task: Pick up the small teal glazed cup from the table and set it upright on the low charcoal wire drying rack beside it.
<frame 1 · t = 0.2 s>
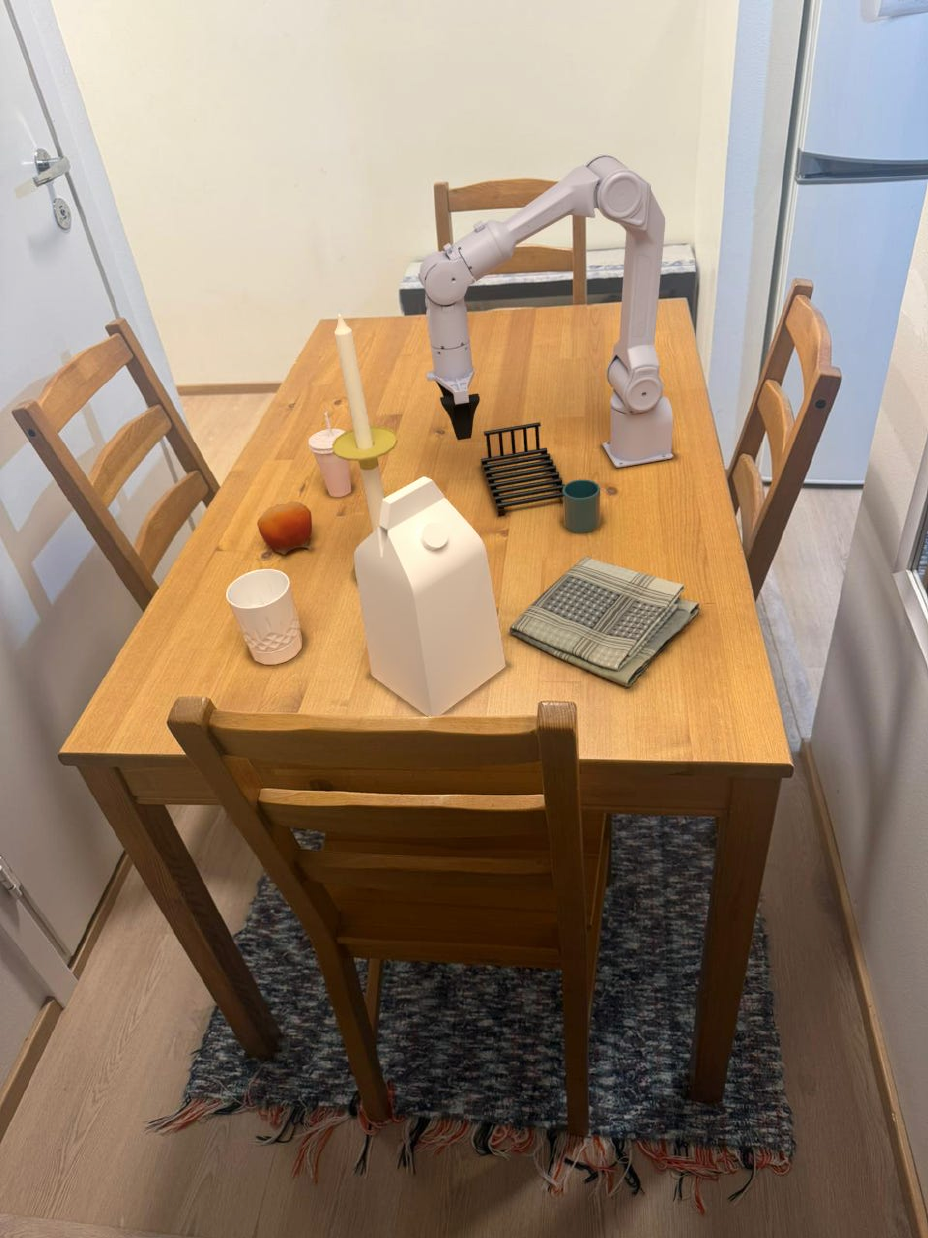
hand: (460, 426, 135), 10 cm above the table, tool pointing down, fingers open, 7 cm apart
milk: (438, 672, 108), on the table
rack: (523, 485, 139), on the table
white cup: (277, 649, 115), on the table
candle: (389, 570, 125), on the table
cup: (581, 522, 129), on the table
smoothie: (340, 492, 144), on the table
fruit: (292, 544, 133), on the table
dish towel: (605, 625, 111), on the table
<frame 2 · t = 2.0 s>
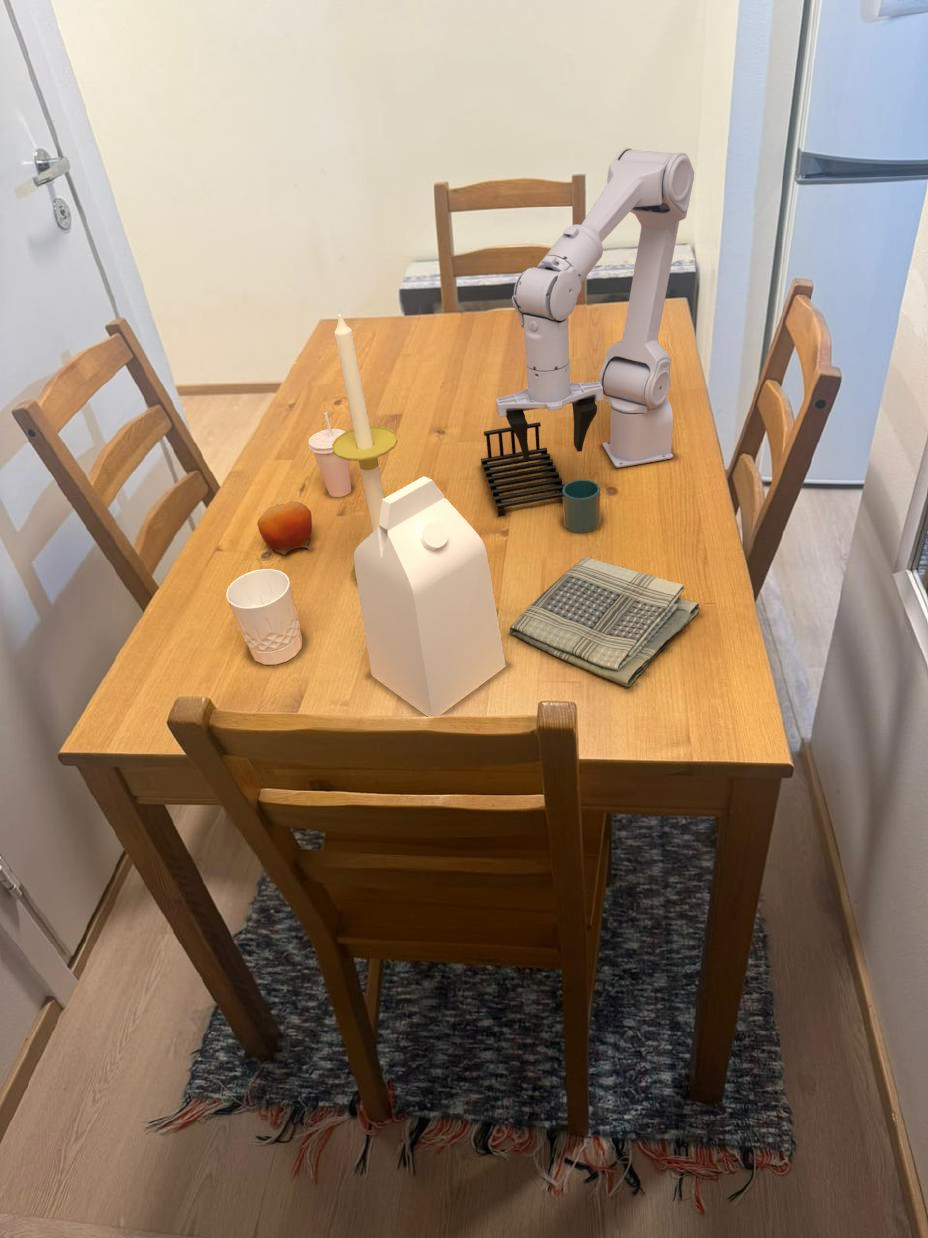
hand: (551, 452, 125), 10 cm above the table, tool pointing down, fingers open, 7 cm apart
nothing on the table moved.
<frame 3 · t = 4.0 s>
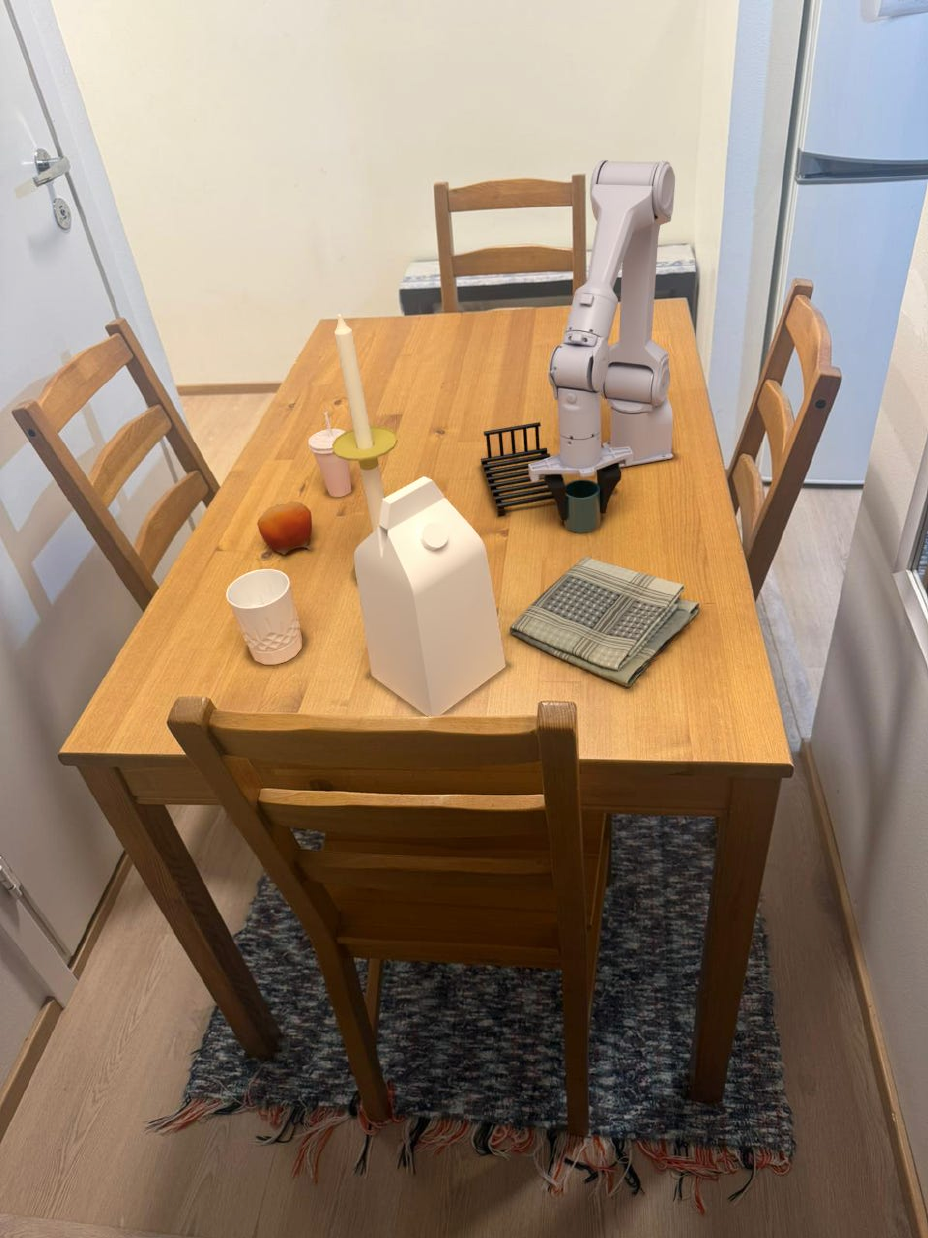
hand: (581, 513, 128), 2 cm above the table, tool pointing down, fingers closed on cup, 5 cm apart
cup: (582, 522, 129), on the table, touching gripper
everything else where it was.
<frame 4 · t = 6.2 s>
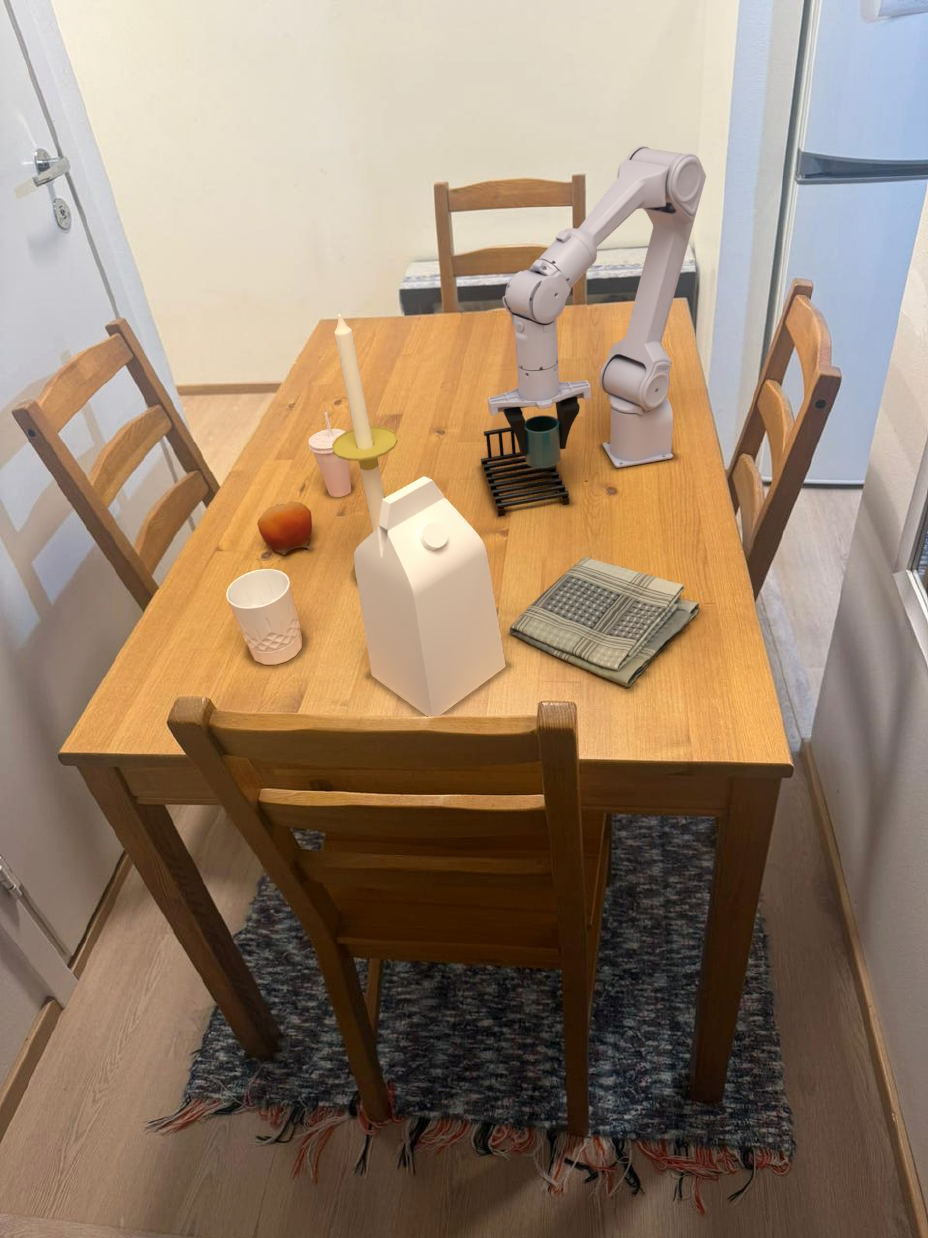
hand: (542, 449, 130), 9 cm above the table, tool pointing down, fingers closed on cup, 5 cm apart
cup: (543, 459, 131), point 7 cm above the table, touching gripper
everything else where it was.
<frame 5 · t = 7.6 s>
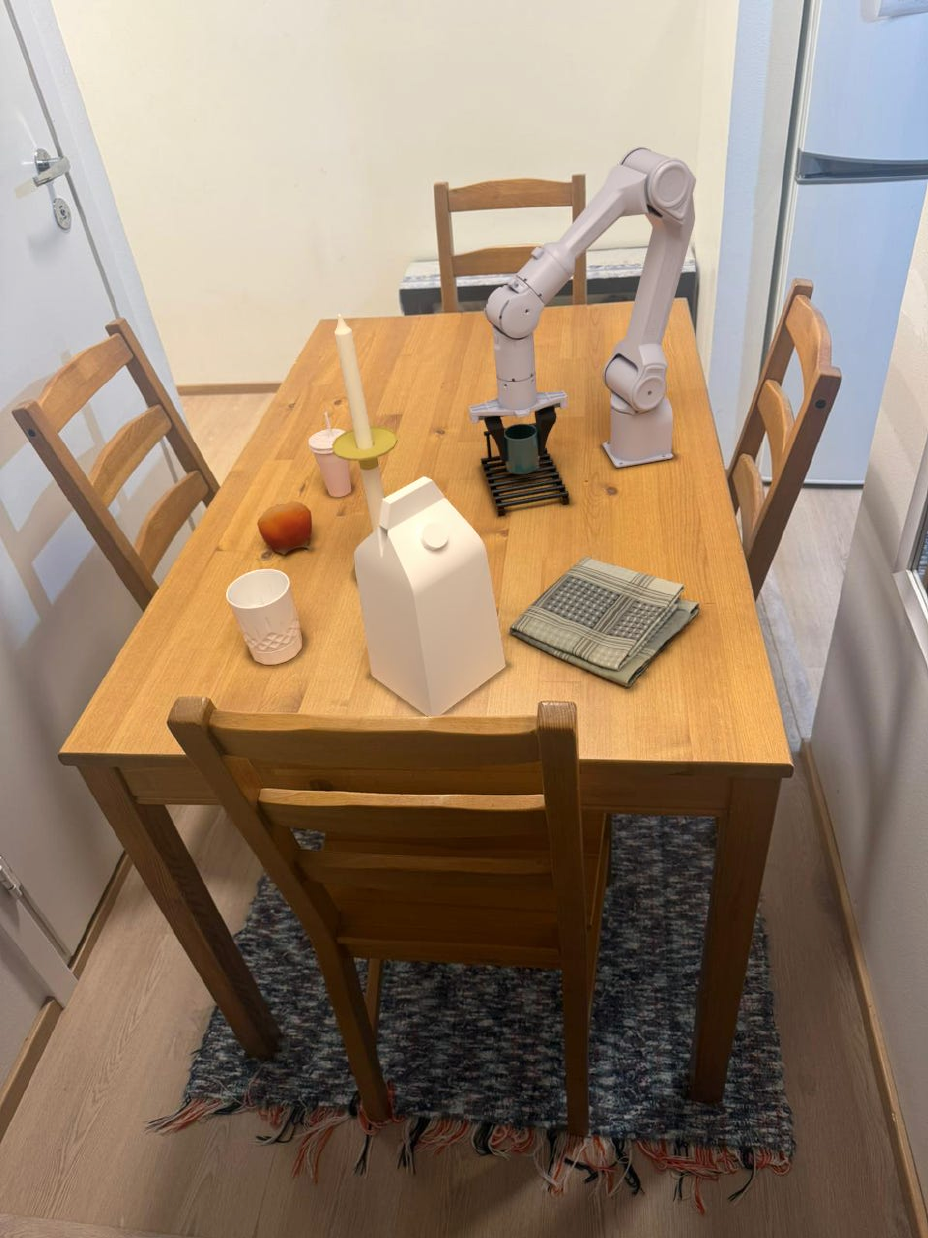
hand: (521, 456, 136), 5 cm above the table, tool pointing down, fingers closed on cup, 5 cm apart
cup: (522, 465, 137), point 4 cm above the table, touching gripper
everything else where it was.
when the fingers open (4 cm above the table, at t = 8.7 s): cup stays where it is, resting on rack.
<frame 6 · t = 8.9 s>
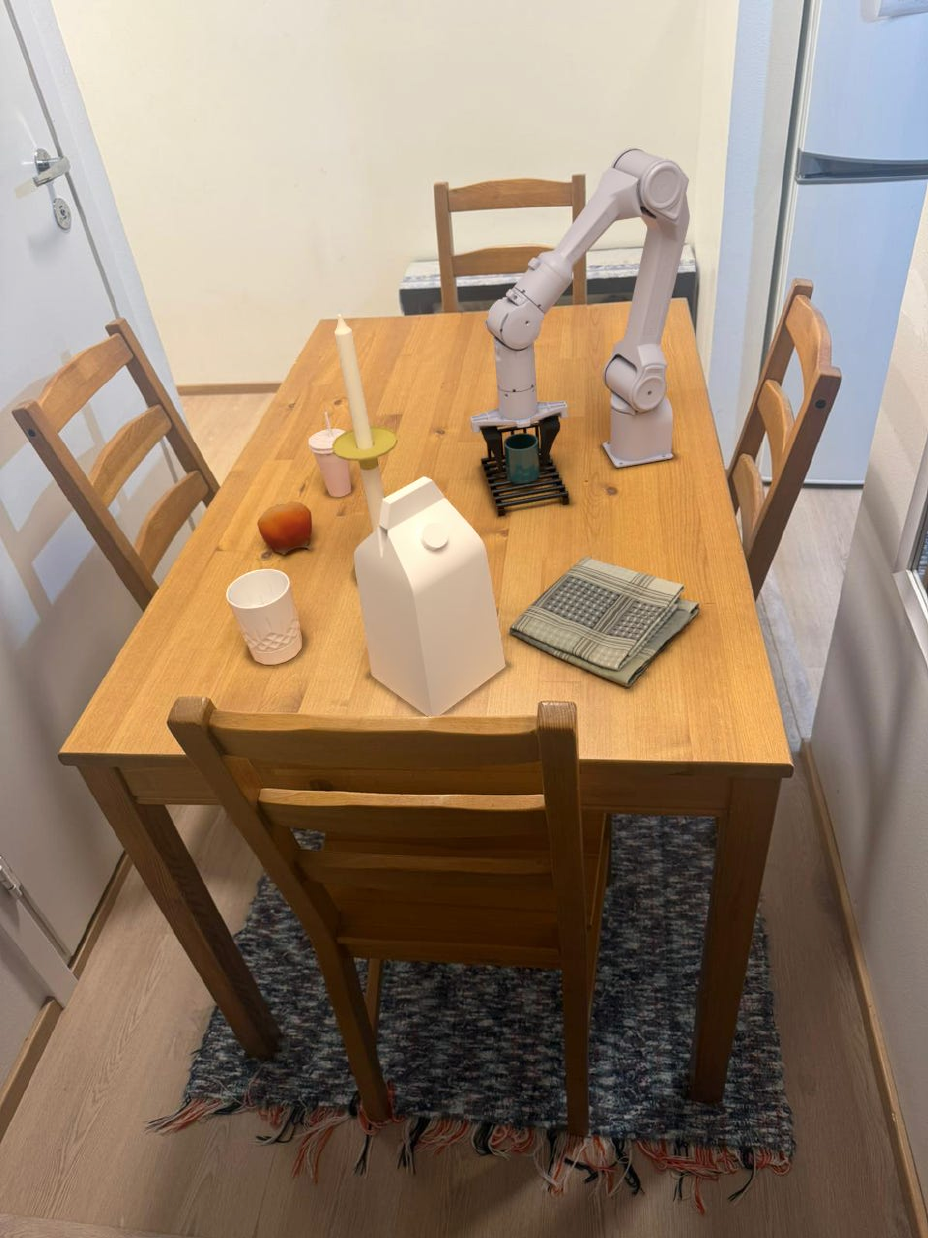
hand: (522, 465, 137), 4 cm above the table, tool pointing down, fingers open, 6 cm apart
cup: (523, 474, 138), point 2 cm above the table, touching rack
everything else where it was.
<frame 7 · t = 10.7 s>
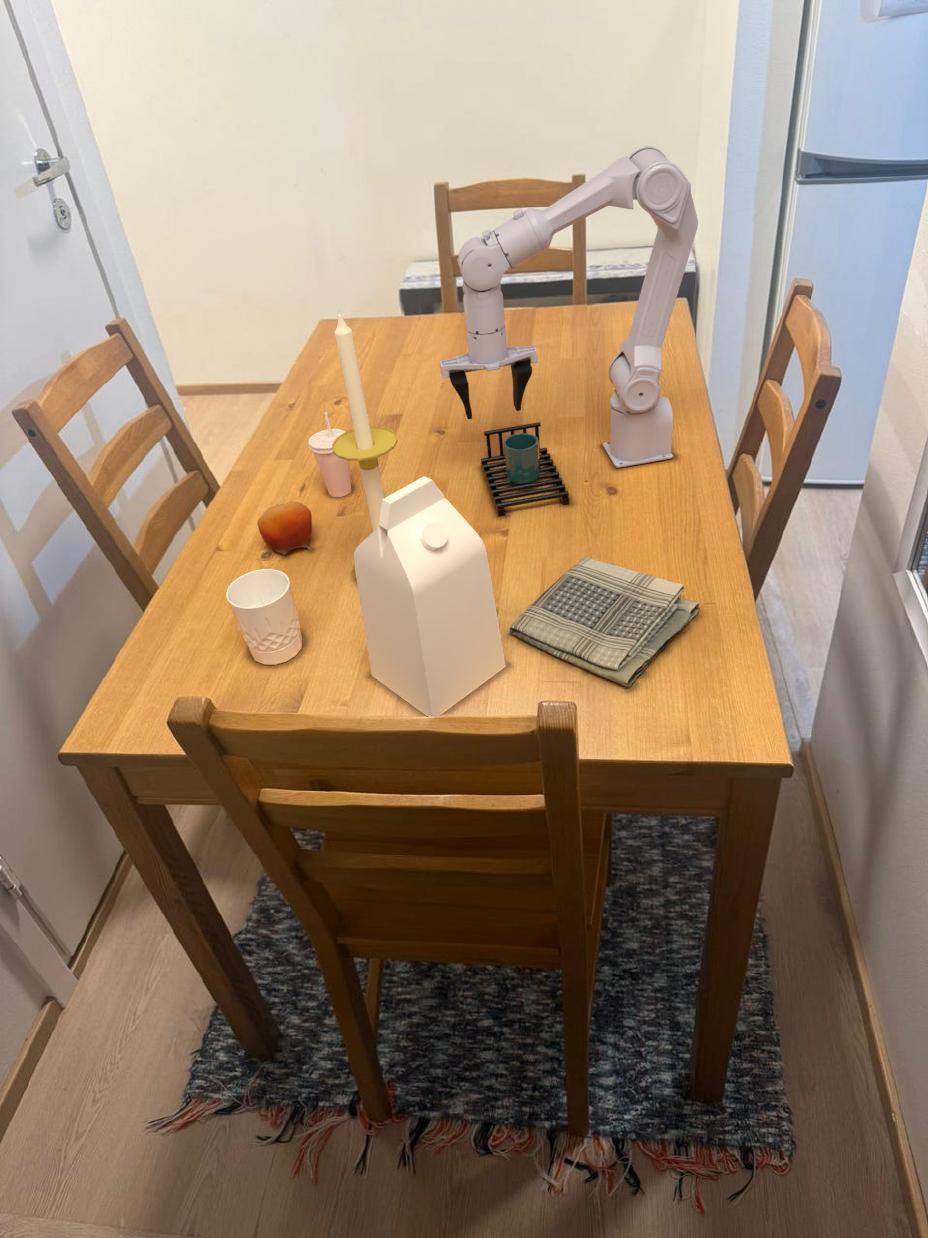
hand: (493, 412, 137), 10 cm above the table, tool pointing down, fingers open, 7 cm apart
nothing on the table moved.
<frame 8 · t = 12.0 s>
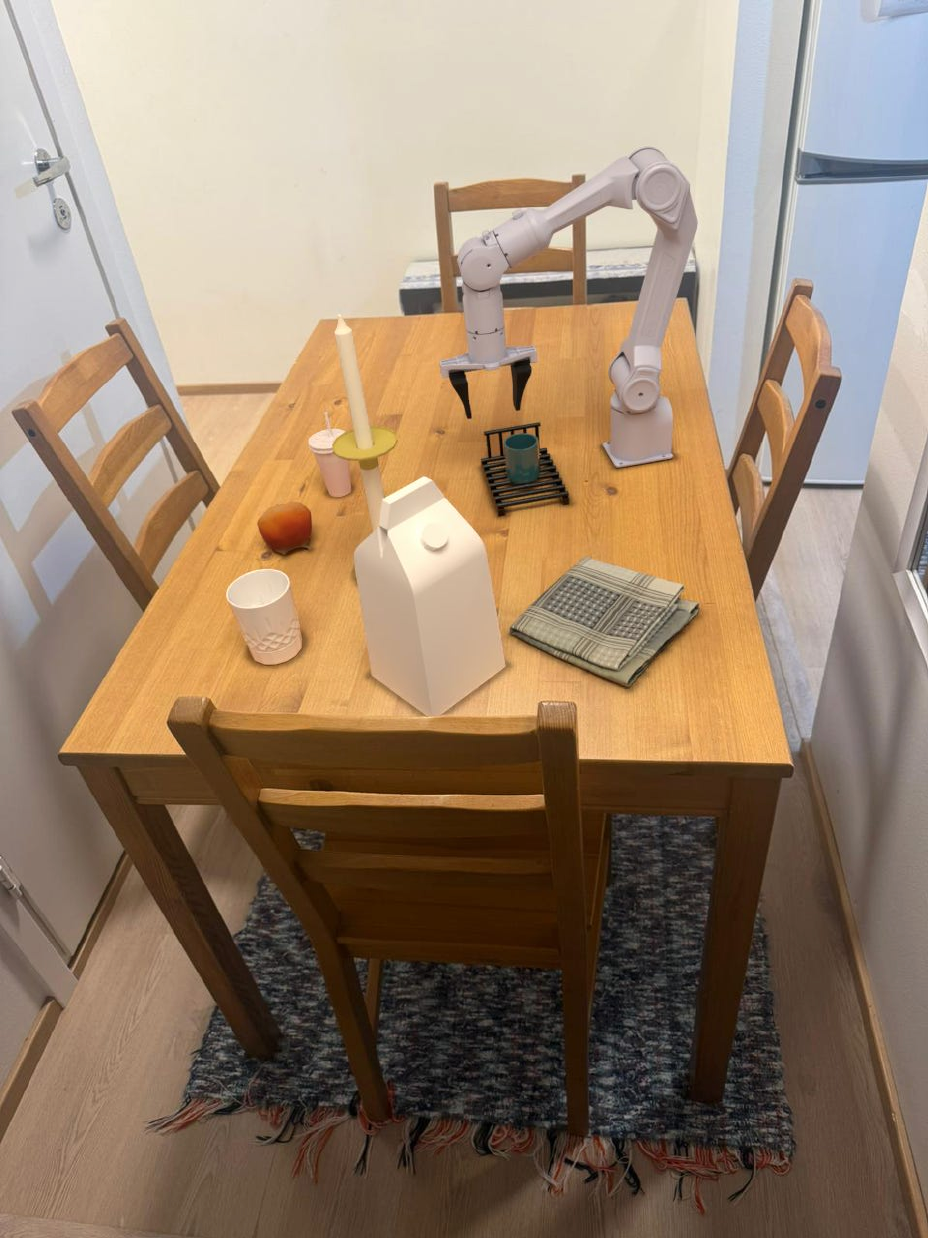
hand: (492, 411, 137), 10 cm above the table, tool pointing down, fingers open, 7 cm apart
nothing on the table moved.
at the end: cup inside the target area on the rack (0.0 cm from its centre), point 2.0 cm above the rack's base; cup tilted 0°; the gripper is holding nothing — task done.
